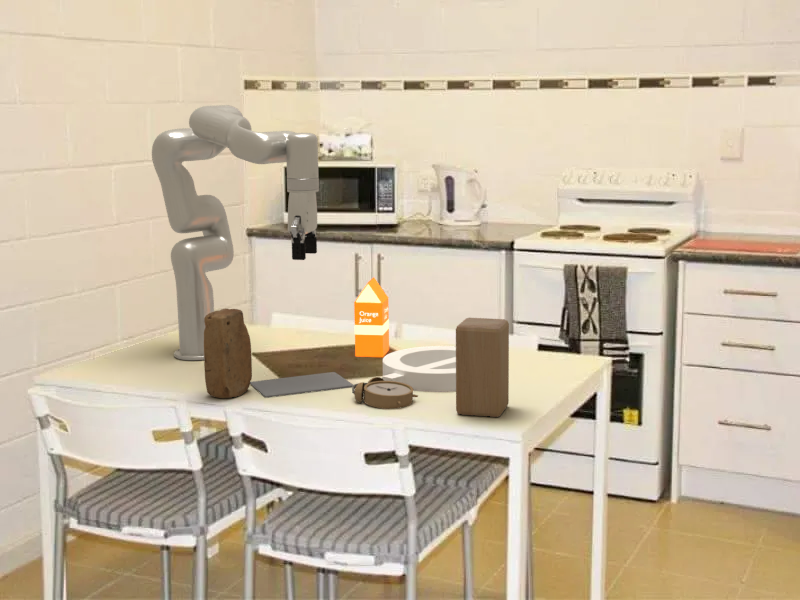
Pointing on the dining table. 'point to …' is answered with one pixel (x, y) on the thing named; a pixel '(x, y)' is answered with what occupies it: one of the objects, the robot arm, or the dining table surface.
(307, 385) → the mat
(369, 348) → the orange juice
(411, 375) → the white circle with bar
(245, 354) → the block
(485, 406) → the wooden block
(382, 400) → the alarm clock
